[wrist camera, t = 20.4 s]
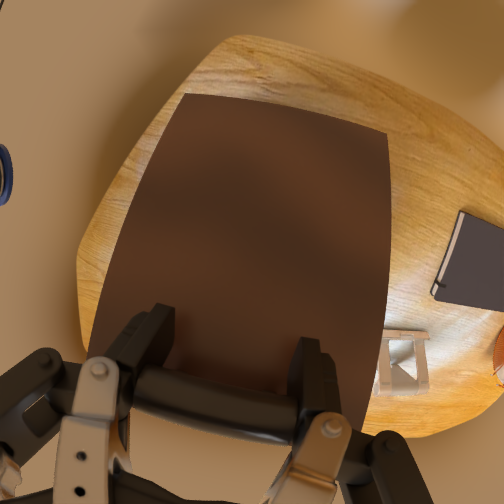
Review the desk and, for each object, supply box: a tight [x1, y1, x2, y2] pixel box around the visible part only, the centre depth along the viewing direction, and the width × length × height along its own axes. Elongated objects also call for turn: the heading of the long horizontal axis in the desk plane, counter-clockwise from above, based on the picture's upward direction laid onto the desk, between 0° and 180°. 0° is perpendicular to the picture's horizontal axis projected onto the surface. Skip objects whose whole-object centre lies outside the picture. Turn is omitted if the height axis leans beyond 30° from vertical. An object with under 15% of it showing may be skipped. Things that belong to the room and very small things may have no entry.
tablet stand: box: [373, 329, 430, 397], centre depth 33 cm, size 9×8×8 cm
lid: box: [86, 93, 391, 447], centre depth 12 cm, size 19×14×5 cm
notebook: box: [430, 211, 504, 312], centre depth 30 cm, size 13×2×21 cm
